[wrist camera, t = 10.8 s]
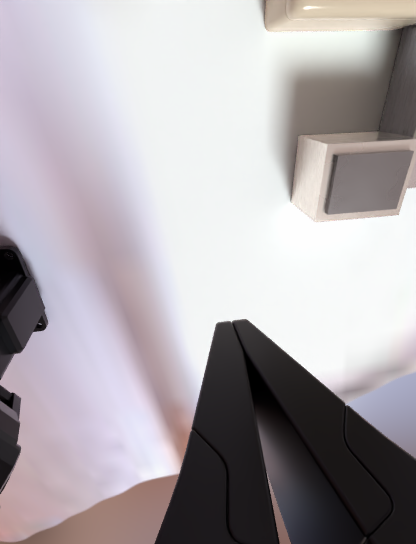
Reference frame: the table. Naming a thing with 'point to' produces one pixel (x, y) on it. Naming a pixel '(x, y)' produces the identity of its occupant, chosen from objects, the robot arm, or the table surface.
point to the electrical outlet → (338, 15)
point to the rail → (363, 156)
